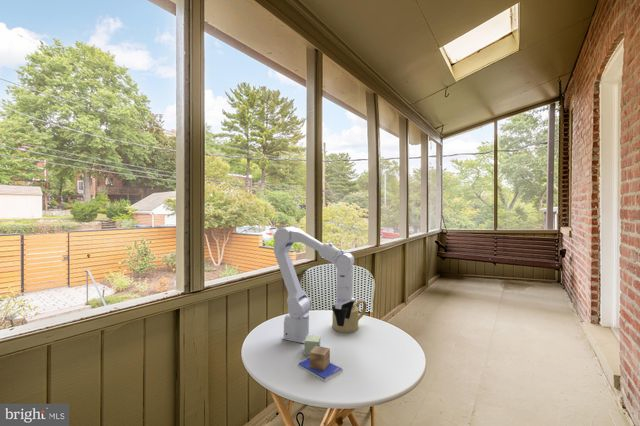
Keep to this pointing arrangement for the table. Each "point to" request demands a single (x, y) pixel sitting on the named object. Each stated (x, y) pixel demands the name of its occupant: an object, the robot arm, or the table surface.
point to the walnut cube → (319, 358)
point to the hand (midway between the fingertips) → (343, 321)
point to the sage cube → (311, 343)
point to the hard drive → (323, 375)
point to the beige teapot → (350, 319)
